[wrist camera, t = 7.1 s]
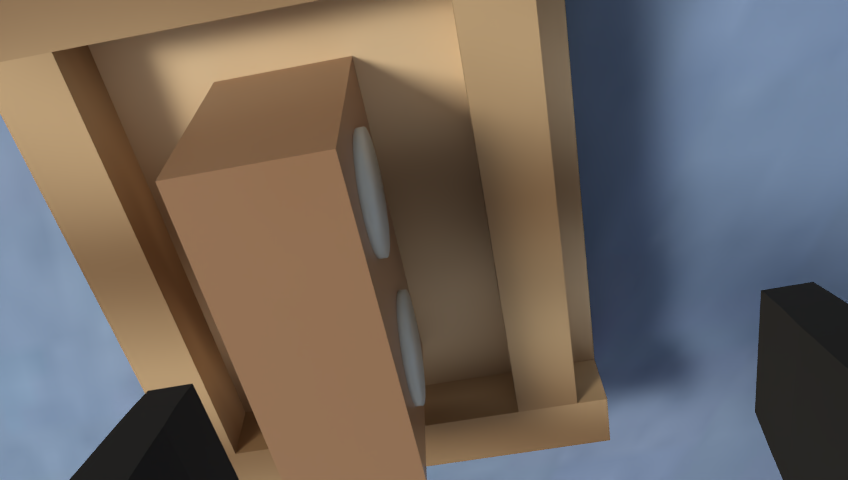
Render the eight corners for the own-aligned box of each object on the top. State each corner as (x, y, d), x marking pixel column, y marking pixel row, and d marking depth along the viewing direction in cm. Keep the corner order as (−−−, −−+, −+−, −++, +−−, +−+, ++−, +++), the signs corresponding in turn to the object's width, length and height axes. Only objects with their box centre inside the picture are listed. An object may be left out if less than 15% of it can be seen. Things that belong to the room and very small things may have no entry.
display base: (583, 352, 23) (609, 439, 20) (202, 410, 24) (173, 502, 21) (535, -161, 16) (566, -143, 13) (-14, -48, 16) (-106, -6, 14)
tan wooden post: (428, 344, 20) (433, 481, 16) (312, 362, 20) (291, 501, 16) (359, 54, 16) (345, 147, 12) (214, 81, 16) (155, 181, 12)
